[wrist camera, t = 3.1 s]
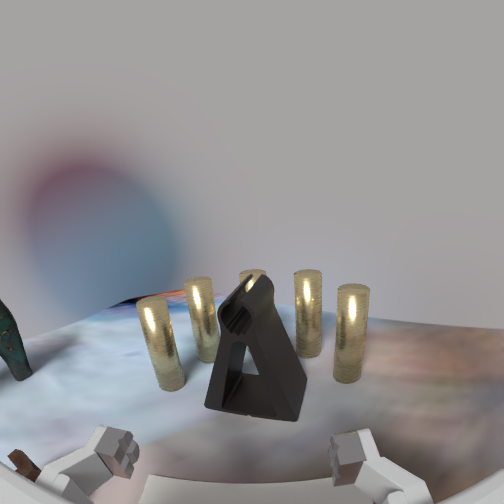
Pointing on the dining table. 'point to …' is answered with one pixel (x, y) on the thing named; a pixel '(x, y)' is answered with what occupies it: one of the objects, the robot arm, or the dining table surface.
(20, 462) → the bolt
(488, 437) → the dining table surface
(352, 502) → the mat
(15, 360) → the green animal figurine
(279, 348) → the phone stand
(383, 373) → the dining table surface
